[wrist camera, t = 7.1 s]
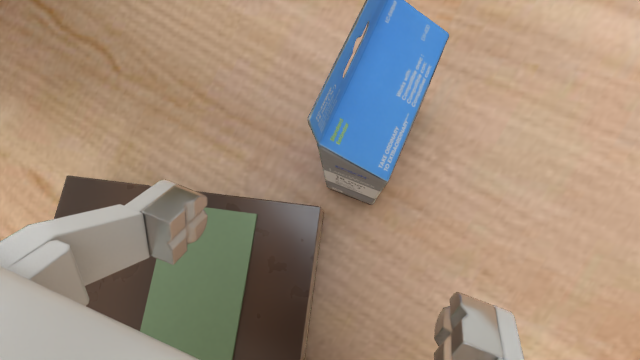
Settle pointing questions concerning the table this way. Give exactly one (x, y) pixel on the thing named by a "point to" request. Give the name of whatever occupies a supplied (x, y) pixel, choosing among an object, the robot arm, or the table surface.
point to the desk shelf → (215, 277)
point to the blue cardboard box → (374, 96)
